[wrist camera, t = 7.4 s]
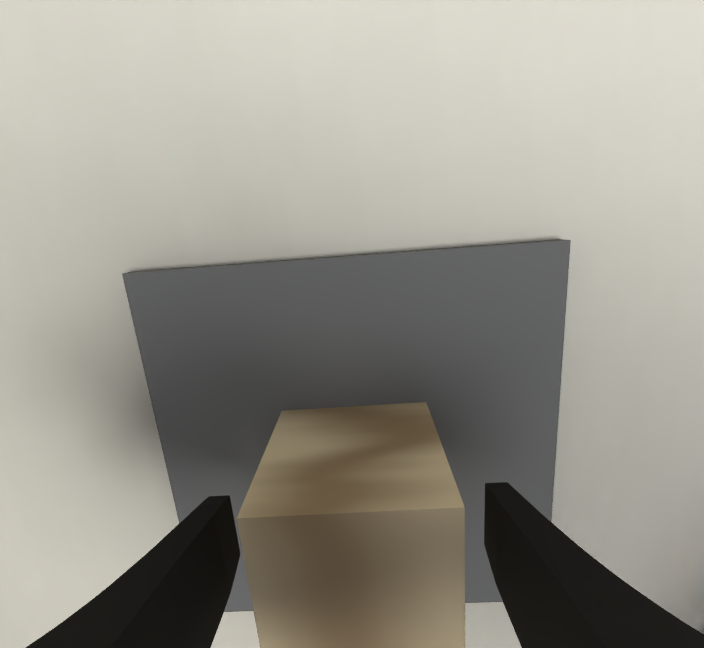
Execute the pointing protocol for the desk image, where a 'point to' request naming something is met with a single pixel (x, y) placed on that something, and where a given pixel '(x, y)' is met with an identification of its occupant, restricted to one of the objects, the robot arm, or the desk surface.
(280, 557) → the maple cube
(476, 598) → the charcoal mat
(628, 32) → the desk surface
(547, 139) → the desk surface
